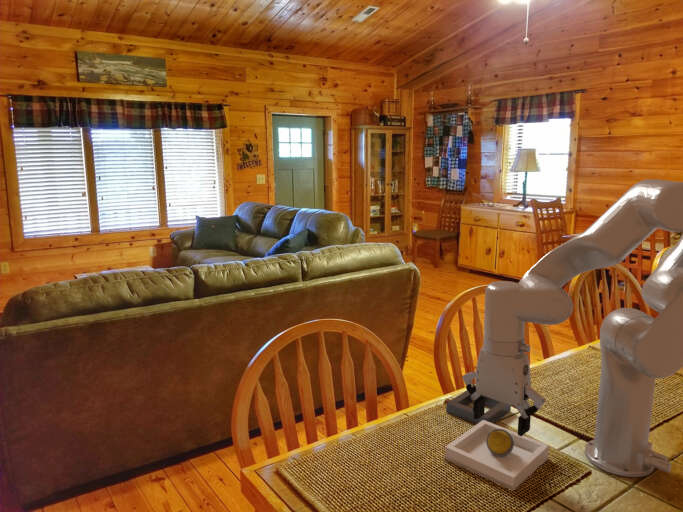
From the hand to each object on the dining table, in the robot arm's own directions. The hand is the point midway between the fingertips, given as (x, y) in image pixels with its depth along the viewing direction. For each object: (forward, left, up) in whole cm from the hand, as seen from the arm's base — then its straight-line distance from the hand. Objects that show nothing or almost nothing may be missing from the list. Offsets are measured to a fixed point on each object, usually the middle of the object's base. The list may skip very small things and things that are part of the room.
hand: (500, 424), depth 108 cm
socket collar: (+13, -15, -8) cm, 21 cm away
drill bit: (0, 0, -7) cm, 7 cm away
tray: (0, 0, -8) cm, 8 cm away
